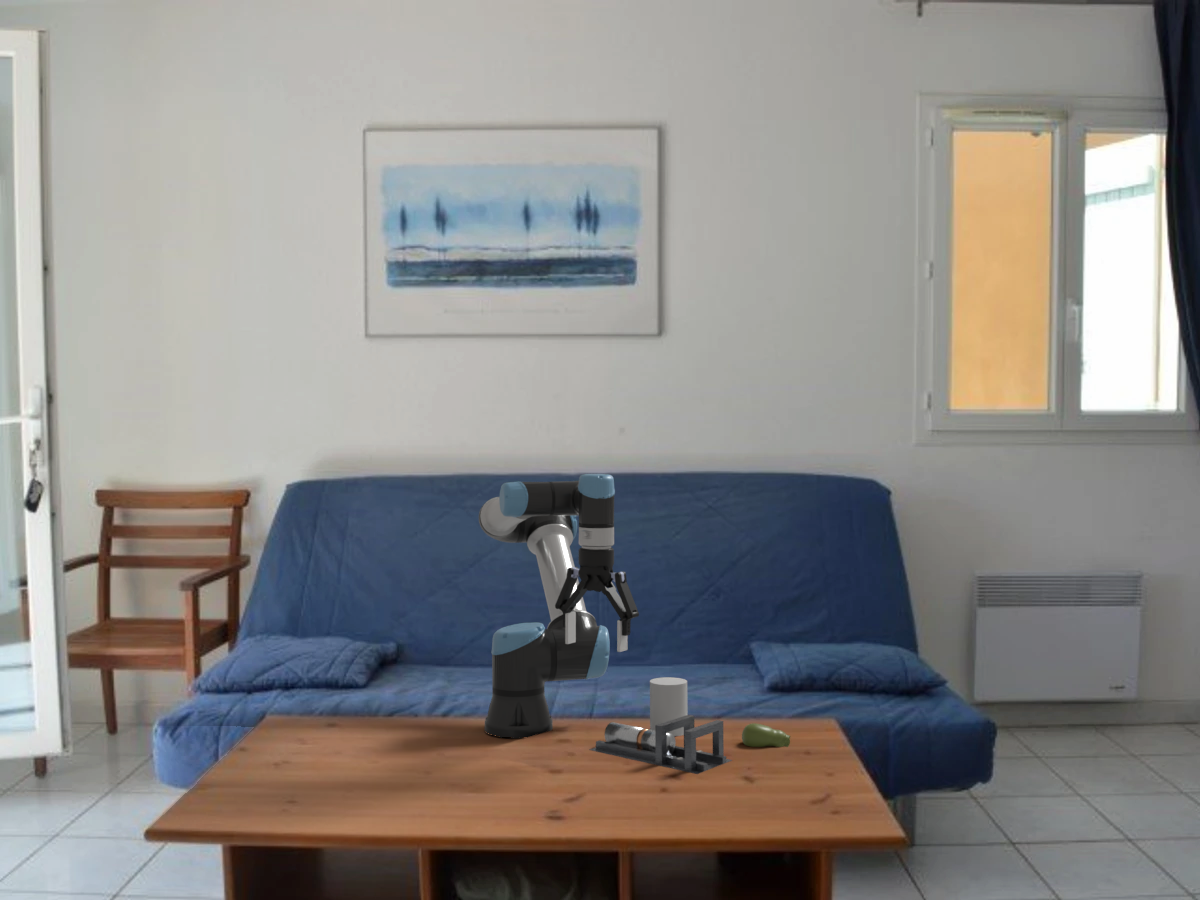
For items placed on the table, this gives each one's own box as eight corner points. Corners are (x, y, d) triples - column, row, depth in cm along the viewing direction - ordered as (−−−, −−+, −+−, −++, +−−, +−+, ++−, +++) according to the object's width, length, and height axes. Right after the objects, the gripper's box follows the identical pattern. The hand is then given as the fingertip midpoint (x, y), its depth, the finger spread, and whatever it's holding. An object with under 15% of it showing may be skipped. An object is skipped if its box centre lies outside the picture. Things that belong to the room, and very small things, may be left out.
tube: (602, 742, 226) (606, 721, 227) (616, 744, 229) (619, 723, 230) (660, 755, 216) (664, 732, 217) (673, 756, 220) (677, 734, 220)
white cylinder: (687, 731, 241) (687, 677, 241) (687, 741, 233) (686, 685, 233) (651, 731, 242) (650, 677, 242) (649, 740, 234) (648, 684, 234)
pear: (742, 718, 230) (789, 726, 230) (738, 743, 230) (785, 751, 230) (745, 725, 224) (794, 733, 224) (741, 750, 224) (789, 758, 224)
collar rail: (588, 754, 223) (588, 712, 223) (625, 742, 233) (625, 702, 233) (697, 779, 206) (697, 734, 206) (732, 765, 215) (732, 722, 215)
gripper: (539, 544, 235) (539, 642, 236) (635, 552, 221) (634, 657, 221) (560, 541, 241) (560, 637, 242) (655, 549, 227) (655, 651, 227)
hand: (596, 647), depth 232 cm, fingers open, 13 cm apart
